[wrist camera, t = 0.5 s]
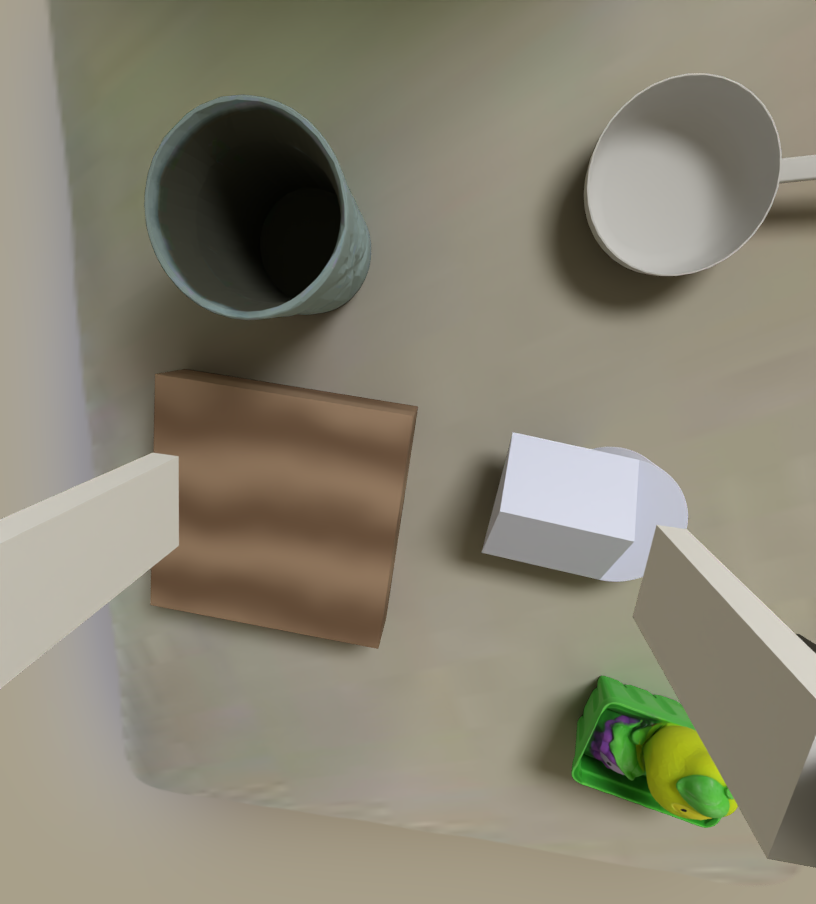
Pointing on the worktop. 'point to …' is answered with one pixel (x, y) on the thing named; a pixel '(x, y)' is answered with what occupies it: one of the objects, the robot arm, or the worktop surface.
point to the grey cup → (254, 212)
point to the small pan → (686, 175)
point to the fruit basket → (648, 755)
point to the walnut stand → (282, 503)
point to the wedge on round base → (581, 508)
